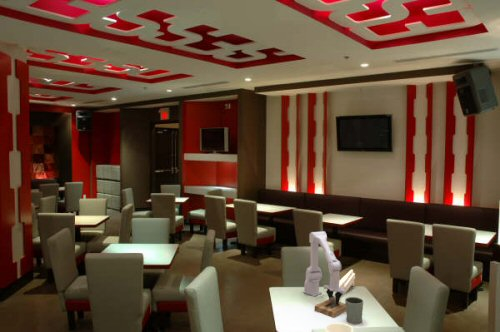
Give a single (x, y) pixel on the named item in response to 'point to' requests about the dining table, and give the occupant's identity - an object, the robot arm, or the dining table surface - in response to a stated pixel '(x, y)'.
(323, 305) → the oak well block
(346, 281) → the shelf bracket
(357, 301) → the gray cup
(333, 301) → the steel bracket
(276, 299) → the dining table surface
